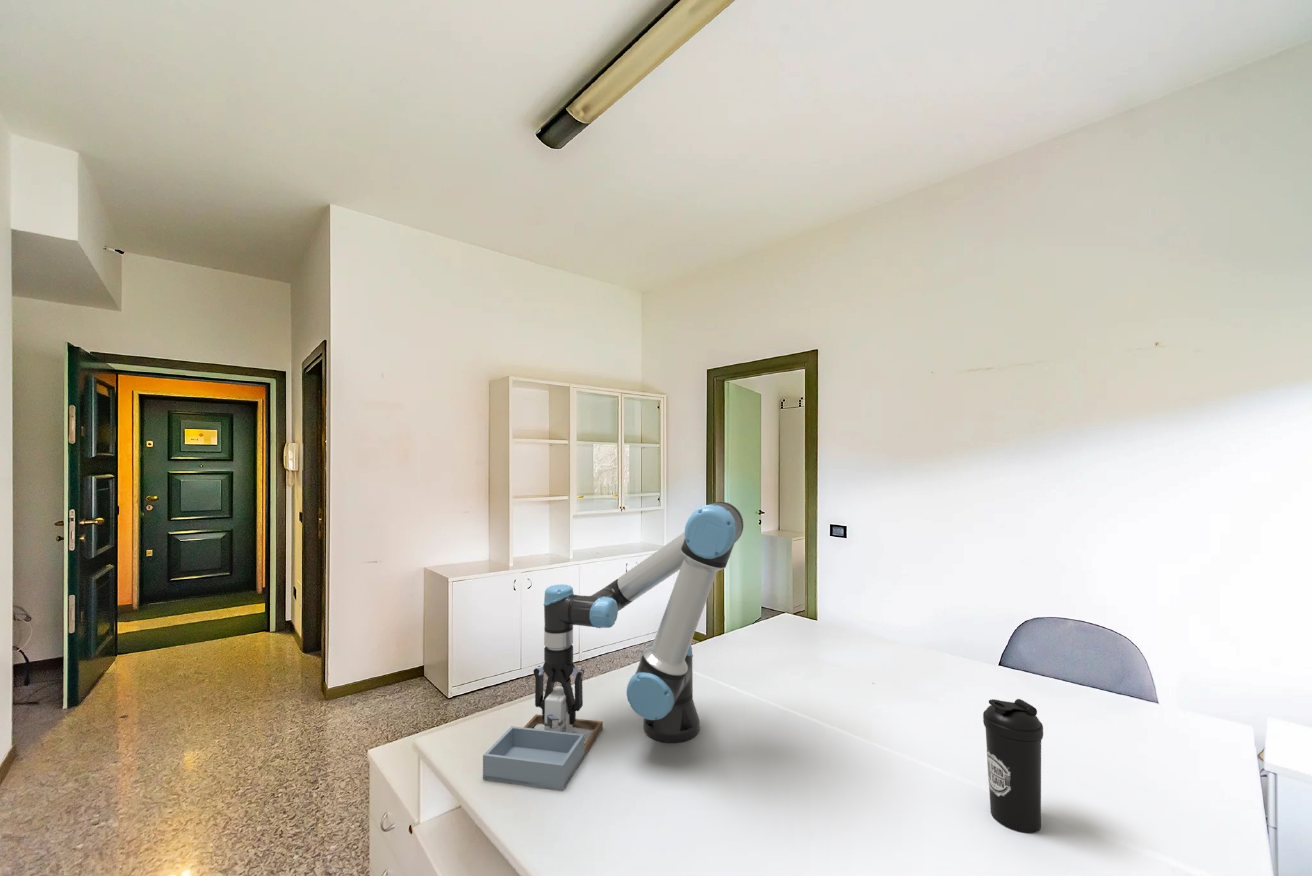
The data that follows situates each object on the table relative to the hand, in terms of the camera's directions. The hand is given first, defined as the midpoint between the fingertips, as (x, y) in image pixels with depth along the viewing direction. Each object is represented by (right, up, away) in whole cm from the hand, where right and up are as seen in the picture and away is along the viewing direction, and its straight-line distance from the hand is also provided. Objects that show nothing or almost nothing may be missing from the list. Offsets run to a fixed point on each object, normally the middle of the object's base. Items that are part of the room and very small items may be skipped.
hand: (558, 734), depth 142 cm
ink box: (0, -1, 0) cm, 1 cm away
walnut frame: (0, -1, 0) cm, 1 cm away
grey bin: (-3, 0, -14) cm, 14 cm away
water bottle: (+98, +1, -33) cm, 103 cm away
